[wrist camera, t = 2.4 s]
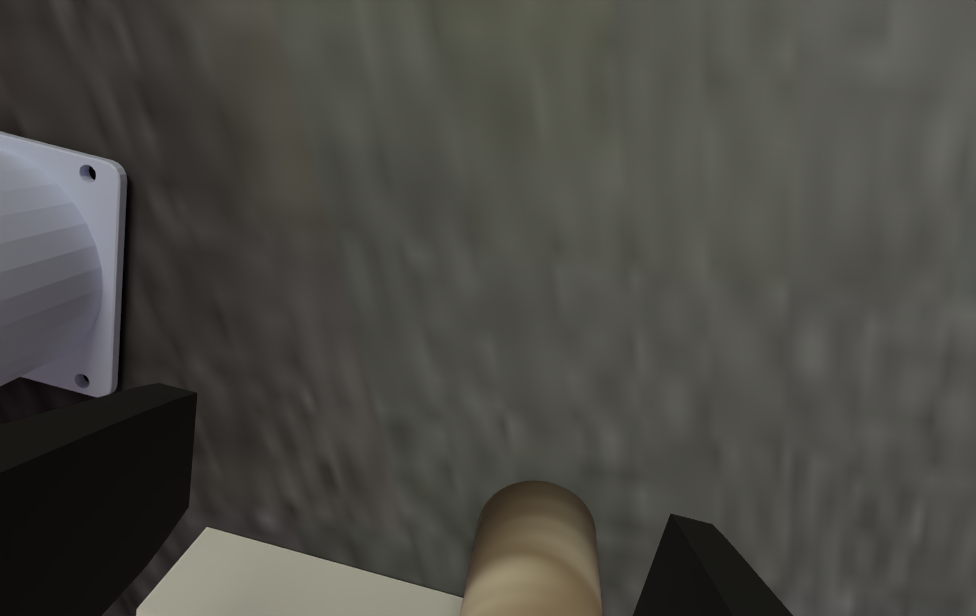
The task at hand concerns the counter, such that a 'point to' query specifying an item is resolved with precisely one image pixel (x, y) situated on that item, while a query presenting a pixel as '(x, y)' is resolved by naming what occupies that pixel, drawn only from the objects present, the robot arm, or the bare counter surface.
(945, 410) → the counter surface
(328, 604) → the block
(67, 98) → the counter surface
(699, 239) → the counter surface
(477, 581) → the beige cylinder
